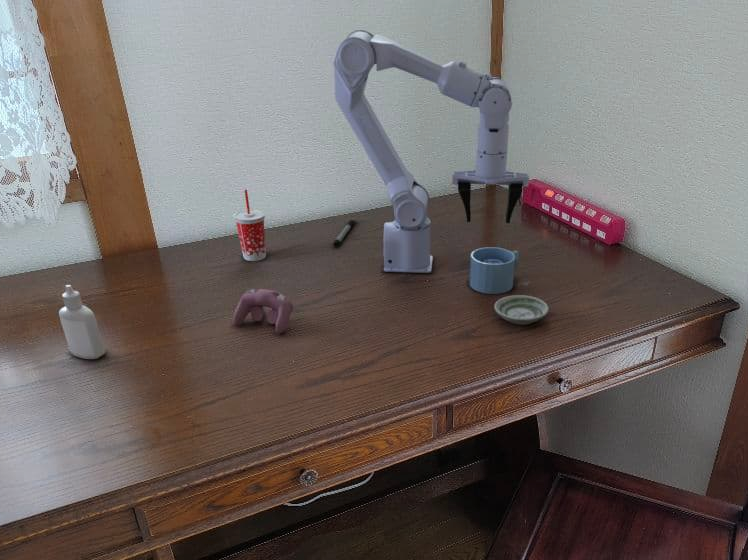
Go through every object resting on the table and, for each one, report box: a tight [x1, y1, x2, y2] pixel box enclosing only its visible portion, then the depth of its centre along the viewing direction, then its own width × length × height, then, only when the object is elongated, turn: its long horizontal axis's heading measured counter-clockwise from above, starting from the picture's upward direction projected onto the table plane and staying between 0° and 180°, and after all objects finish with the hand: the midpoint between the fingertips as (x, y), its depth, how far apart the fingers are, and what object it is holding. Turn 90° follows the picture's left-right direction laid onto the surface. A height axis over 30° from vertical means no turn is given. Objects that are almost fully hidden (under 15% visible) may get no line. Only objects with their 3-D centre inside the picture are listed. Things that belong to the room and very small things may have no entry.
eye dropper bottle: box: [58, 284, 106, 360], centre depth 115 cm, size 4×6×12 cm
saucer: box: [493, 294, 550, 326], centre depth 131 cm, size 10×10×2 cm
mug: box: [469, 246, 520, 295], centre depth 142 cm, size 11×8×6 cm
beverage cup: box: [233, 189, 267, 262], centre depth 148 cm, size 6×6×14 cm
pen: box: [332, 217, 356, 248], centre depth 163 cm, size 1×16×1 cm, turn 171°
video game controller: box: [232, 288, 294, 335], centre depth 127 cm, size 10×5×7 cm, turn 71°
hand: (488, 220), depth 144 cm, fingers open, 7 cm apart
